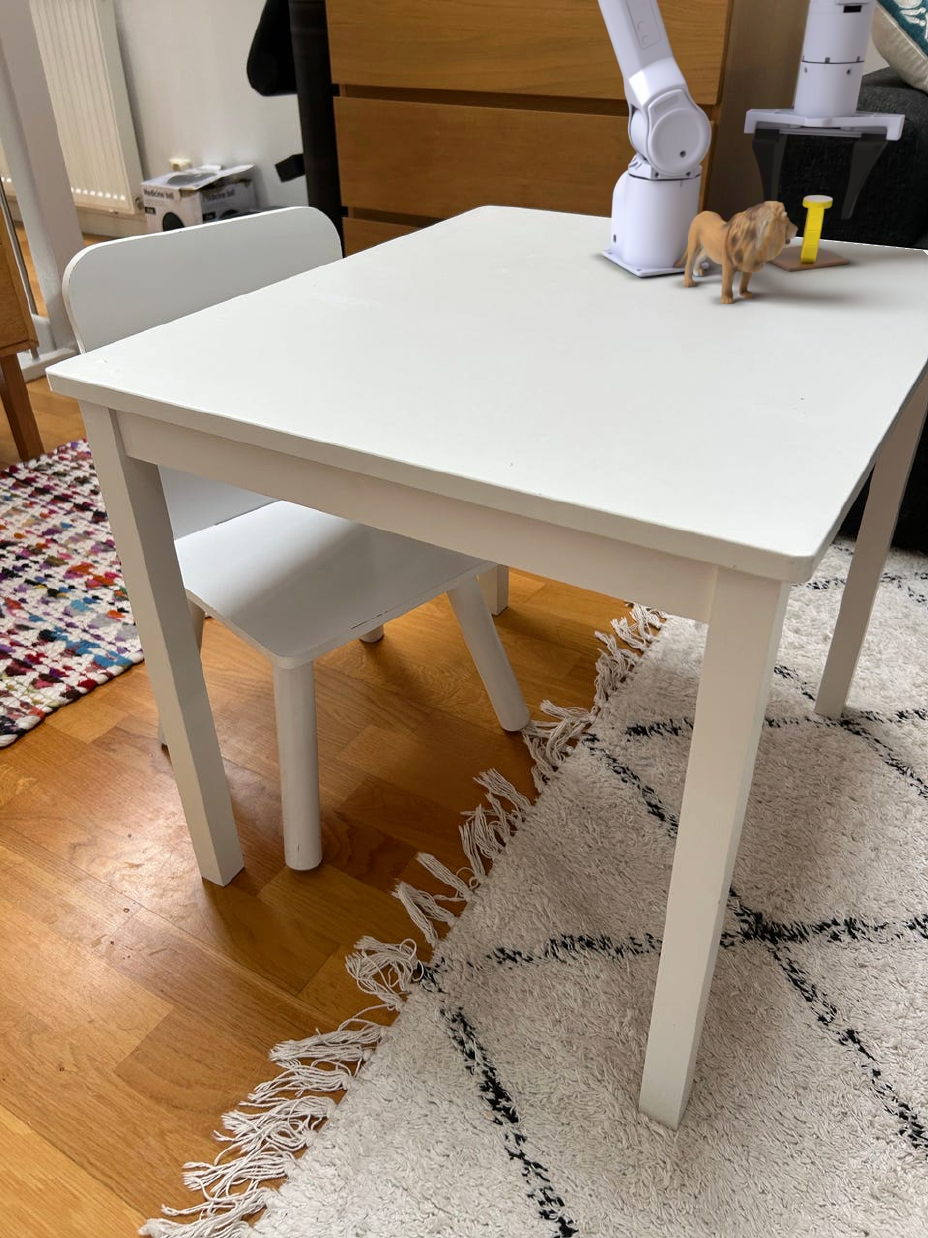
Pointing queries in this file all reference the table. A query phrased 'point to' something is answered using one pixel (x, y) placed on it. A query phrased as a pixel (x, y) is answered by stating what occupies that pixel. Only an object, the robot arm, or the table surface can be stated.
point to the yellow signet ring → (813, 225)
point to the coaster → (792, 262)
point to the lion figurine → (737, 244)
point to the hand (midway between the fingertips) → (807, 213)
